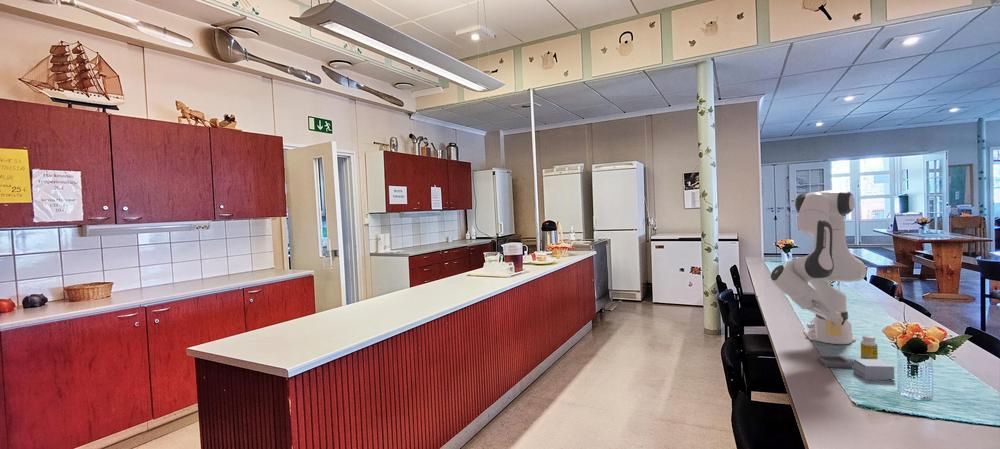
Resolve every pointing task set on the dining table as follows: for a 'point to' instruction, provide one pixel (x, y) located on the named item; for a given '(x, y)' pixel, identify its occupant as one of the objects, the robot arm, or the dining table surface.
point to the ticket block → (873, 369)
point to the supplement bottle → (869, 347)
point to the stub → (833, 328)
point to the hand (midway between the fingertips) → (835, 322)
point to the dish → (834, 362)
